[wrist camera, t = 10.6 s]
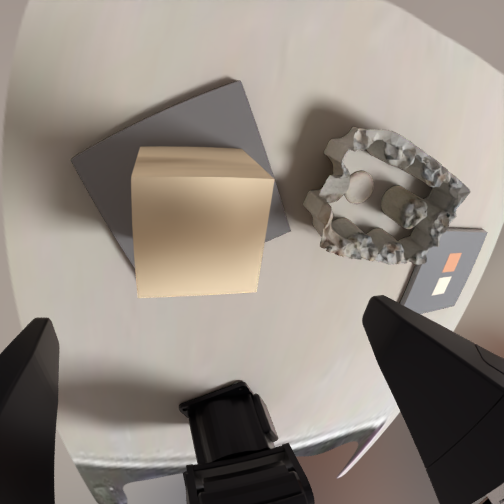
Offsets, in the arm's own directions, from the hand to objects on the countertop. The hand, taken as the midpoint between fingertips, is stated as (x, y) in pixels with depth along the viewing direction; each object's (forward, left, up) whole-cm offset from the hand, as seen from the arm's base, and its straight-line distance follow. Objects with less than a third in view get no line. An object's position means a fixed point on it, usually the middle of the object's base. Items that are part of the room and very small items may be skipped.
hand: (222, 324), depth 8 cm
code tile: (+18, -16, -10) cm, 26 cm away
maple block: (0, 0, -10) cm, 10 cm away
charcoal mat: (0, 0, -10) cm, 10 cm away
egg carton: (+11, -5, -11) cm, 16 cm away
